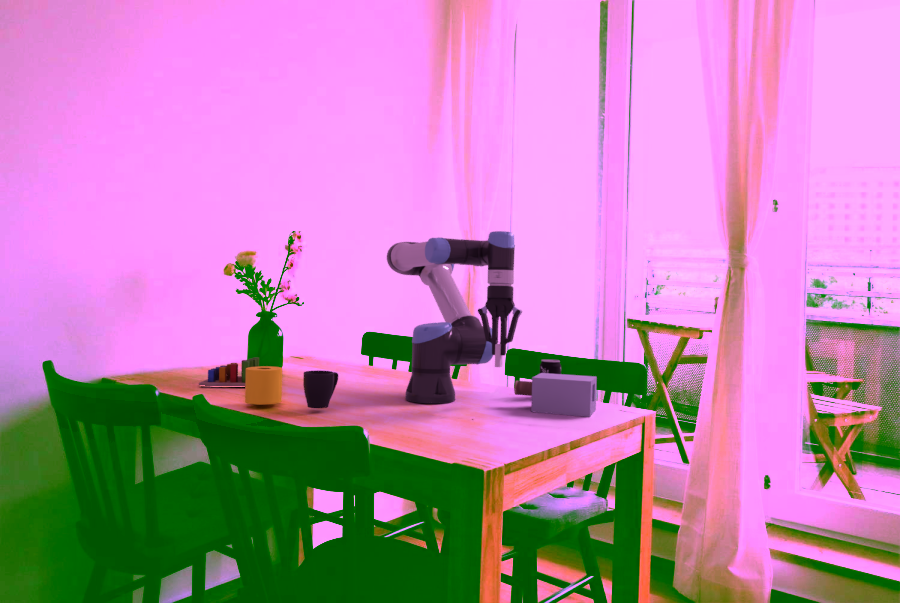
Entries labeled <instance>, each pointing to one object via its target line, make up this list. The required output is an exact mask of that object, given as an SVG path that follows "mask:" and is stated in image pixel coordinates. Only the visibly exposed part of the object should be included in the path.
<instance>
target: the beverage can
mask: <svg viewBox="0 0 900 603" xmlns="http://www.w3.org/2000/svg"><path fill="white" fill-rule="evenodd" d="M540 361H541V363H540V364H539V374H540V373H550V374H562V365H561V363H560V362H561V361H560V360H559V359H541V360H540Z"/></svg>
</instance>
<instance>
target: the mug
mask: <svg viewBox="0 0 900 603" xmlns="http://www.w3.org/2000/svg"><path fill="white" fill-rule="evenodd" d="M338 381H339V373H338V372H337V371H336V372H335V371H330V370H307V371H303V391H304V396H305V397H304V398H305V401H306V404H307V407H308V408H310V409H327V408H328V407H329V405H330V401H331V399H332V397H333V395H334V392H335V389H336V387H337V385H338V384H337V383H338Z"/></svg>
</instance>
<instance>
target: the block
mask: <svg viewBox="0 0 900 603" xmlns="http://www.w3.org/2000/svg"><path fill="white" fill-rule="evenodd" d="M597 379H598V378H597V376H596V375H595V376H594V375H593V376H592V375H578V374H577V375H576V374H564V373H563V374H562V373H561V374H550V373H540V372H539V373H538V374H537V375H535V376H532V377H531V382H532V396H531V405H530V406H531V410H530V412H532V413H540V414H554V415H564V416H573V417H574V416H575V417H576V416H577V417H585V418H586V417H588V418H590V417H591V416H592V415H593V414H594V412H595V411H596V410H597V381H598V380H597Z"/></svg>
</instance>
